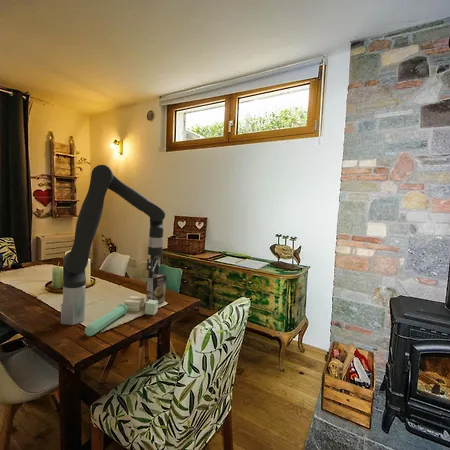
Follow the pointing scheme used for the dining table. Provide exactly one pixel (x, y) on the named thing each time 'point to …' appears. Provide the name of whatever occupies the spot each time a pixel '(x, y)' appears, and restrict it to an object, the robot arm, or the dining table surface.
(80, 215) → the robot arm
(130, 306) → the birch base
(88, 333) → the container
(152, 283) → the coffee box
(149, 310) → the sage block
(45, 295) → the dining table surface
